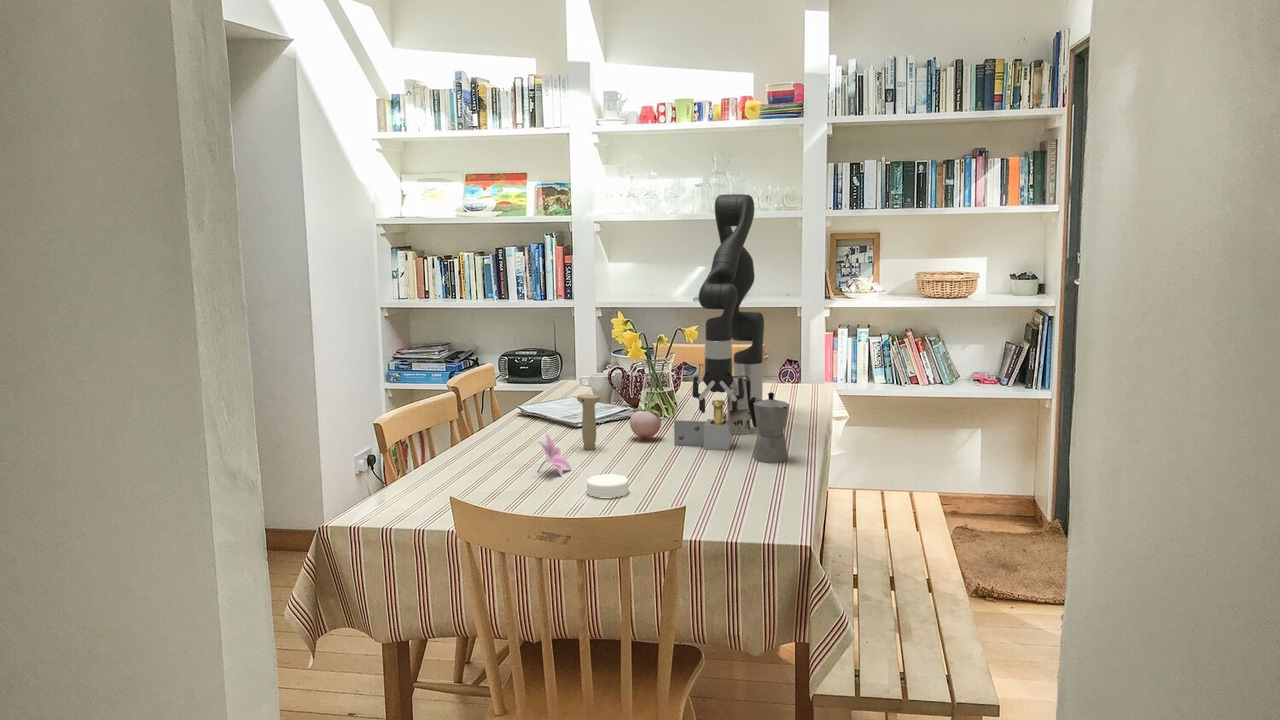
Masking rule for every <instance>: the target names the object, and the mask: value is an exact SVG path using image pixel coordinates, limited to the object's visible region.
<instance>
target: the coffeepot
mask: <svg viewBox="0 0 1280 720" xmlns="http://www.w3.org/2000/svg"><path fill="white" fill-rule="evenodd" d="M767 394H768V395H767V396H768V399H763V398H762V399H760V398H756V397H753V398H752V399H751V400H750V401H749V409H750V414H751V418H750V419H751V422H752V426H753V427H754V428H756V429H758V430H757V431H758V434H757V435H756V439H755V445H754V450H753V456H752V457H753V459H754V460H755V461H756V460H757V462H759V461H760V462H761V463H765V464H778V463H783V462H786V461H787V460H789V456H788V449H787V444H786V443H787V441H786V437H785V435H784V430H785V429H786V427H787V420H788V414H789V410H790V408H789V407H790V404H789V402H786V401H783V400H779V399H774V397H775V393H774V392H768V393H767Z"/></svg>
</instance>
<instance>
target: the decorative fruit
mask: <svg viewBox="0 0 1280 720" xmlns="http://www.w3.org/2000/svg"><path fill="white" fill-rule="evenodd" d="M646 407H647V405H644V408H642V407H640V408H639V407H637V408H633V409H632V410H630V413H632V414H631V416H630V419H629V426H630V429H631V431H632V432H633V434H634V435H636V436H637V437H639V438H641V439H644V440H648V439H650V438H653V437H654V436H655V435H656V434H657V433H658V432H659V431H660V429H661V427H662V419H661V413H660V412H659V411H657V410H655V409H653V408H652V409H650V408H649V409H647V408H646Z"/></svg>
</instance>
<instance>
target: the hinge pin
mask: <svg viewBox="0 0 1280 720" xmlns="http://www.w3.org/2000/svg"><path fill="white" fill-rule="evenodd" d="M711 405H712V406H713V419H714V424H723V413H724V406H725V405H726V401H725V400H723V399H714V400H712V401H711Z"/></svg>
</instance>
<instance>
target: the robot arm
mask: <svg viewBox="0 0 1280 720" xmlns="http://www.w3.org/2000/svg"><path fill="white" fill-rule="evenodd" d="M754 215H755V202H754V198H753V197H752V196H751V195H750V194H746V193H745V194H744V193H743V194H742V193H739V194H738V193H736V194H735V193H734V194H733V193H731V194H730V193H729V194H727V193H726V194H719V195H717V197H716V198H715V201H714V216H715V222H716V227H717V232H718V237H719V243H720V245H719V246H718V247H717V249H716V251H715V252H714V255H713V258H712V259H713V260H712V263H711V264H712V265H711V268H710V271H709V273H708V275H707V277H706V278H705V280H704V281H703V283H702V285H701V287H700V290H699V292H698V302H699V305H700V306H701V307H702V308H703V309H705V310H723V312H722V314H721V315H720V316H716V317H711V318H708V319H707V320H706V322H705V341H704V342H705V343H704V344H705V345H704V376H702V375H701V376H699V375H698V374H696V375H695V376H694V377H693V379H692V380H693V381H692V394H691V395H692V398H694V399H695V398H696V399H698V401H699V402H698V404H699V405H698V407H699V411H700V413H701V414H705V412H706V398H705V397H706V396H707V394H709V392H712V393H722V394H723V393H725V392H726V395H727V394H728V395H729V396H730V397H731V398H732V400H733V401H732V414H735V412H737V410H738V400H740V399H743V397H744V379H743V377H742V376H748V377H749V379H750V381H751V385H750V400H751V399H752V398H753V397H756V398H760V399H763V381H764V380H763V378H764V377H763V373H764V371H763V369H764V366H763V364H764V363H763V361H764V359H763V358H764V336H765V335H764V333H765V319H764V315H763V314H762V312H757V311H740V306H741V303H742V301H743V300H744V298H745V297H746V295H747V294H749V293H748V292H750V290H751V288H752V286H753V285H754V282H755V277H756V276H755V268H754V261H753V260H754V259H753V258H752V256H751V254H750V253H749V252H748V250H747V249H746V247H744V245H745V244H746V243H745V242H746V240H747V238H748V234H749V233H750V229H751V227H752V224H753V220H754V217H755V216H754ZM732 227H736V228H735V229H734V230H733V229H732ZM732 340H733V341H739V342H741V341H742V342H752V344H751V345H750V346H748V348H745V349H743V350H739V351H737V352H735V353H733V345H732ZM733 376H741V377H737V378H733ZM702 381H703V383H704V384H705V386H706V387H705V389H704V390H703V391H702V393H699V388H700V387H699V385H700V384H702ZM733 381H734V382H735V383H736V385H738V389H739V395H736V393H735V392H734V390H733V389H732V387H731V386H730V385H731V384H732V383H733ZM729 388H730V389H729ZM750 419H752V418H751V414H750Z"/></svg>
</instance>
